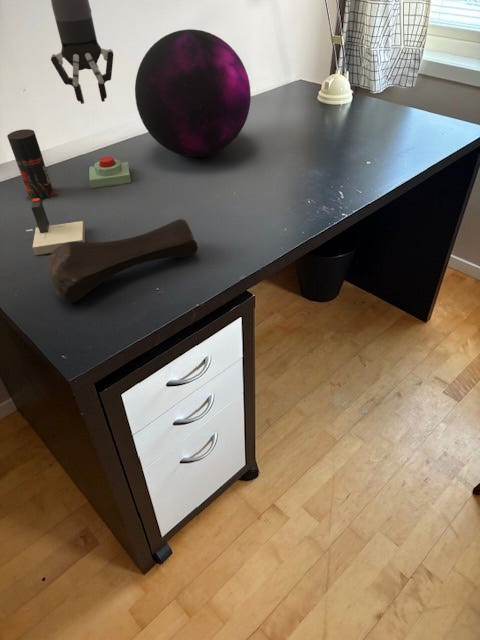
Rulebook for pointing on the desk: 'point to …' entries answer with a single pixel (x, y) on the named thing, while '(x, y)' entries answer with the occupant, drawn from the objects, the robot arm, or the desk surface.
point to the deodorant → (31, 163)
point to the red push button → (107, 161)
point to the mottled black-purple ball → (192, 93)
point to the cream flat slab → (57, 236)
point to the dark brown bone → (114, 257)
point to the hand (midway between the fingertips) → (92, 101)
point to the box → (109, 174)
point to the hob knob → (40, 215)
